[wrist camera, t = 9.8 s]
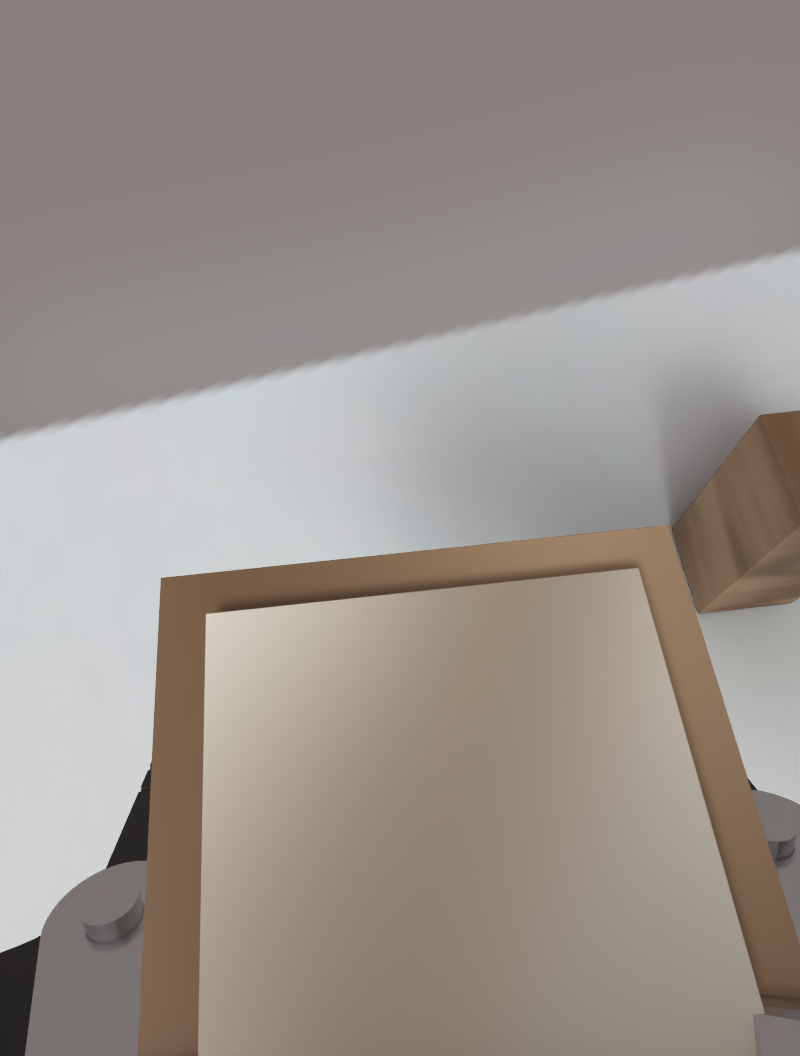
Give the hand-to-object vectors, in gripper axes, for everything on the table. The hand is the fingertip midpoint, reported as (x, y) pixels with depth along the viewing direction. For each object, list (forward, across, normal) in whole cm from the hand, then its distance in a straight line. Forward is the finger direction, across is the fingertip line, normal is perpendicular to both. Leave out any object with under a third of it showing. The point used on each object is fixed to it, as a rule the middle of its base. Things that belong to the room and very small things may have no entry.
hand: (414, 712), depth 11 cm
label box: (+2, 0, +5) cm, 5 cm away
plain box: (+21, -17, +8) cm, 28 cm away
